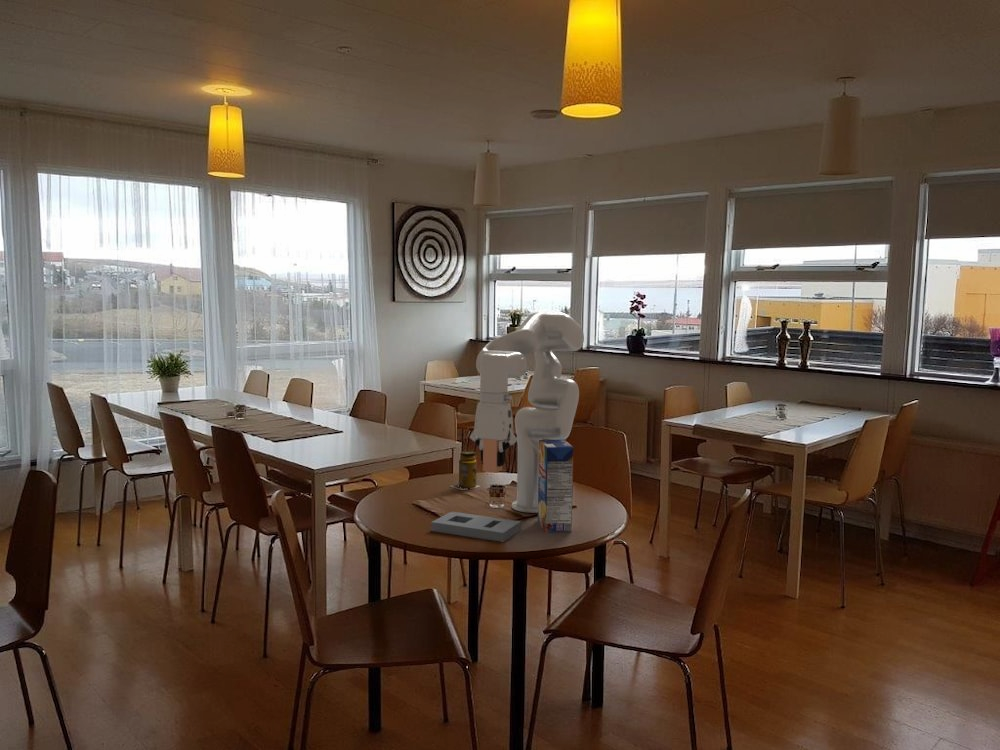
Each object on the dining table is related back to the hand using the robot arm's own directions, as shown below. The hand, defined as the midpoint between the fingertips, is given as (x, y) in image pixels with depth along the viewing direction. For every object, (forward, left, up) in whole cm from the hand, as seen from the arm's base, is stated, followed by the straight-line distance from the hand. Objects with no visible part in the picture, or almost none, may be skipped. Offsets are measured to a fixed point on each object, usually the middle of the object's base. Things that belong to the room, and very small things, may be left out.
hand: (492, 464), depth 209 cm
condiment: (-44, -31, -20) cm, 57 cm away
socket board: (0, -5, -19) cm, 20 cm away
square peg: (0, 0, -2) cm, 2 cm away
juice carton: (-14, +13, -20) cm, 27 cm away
